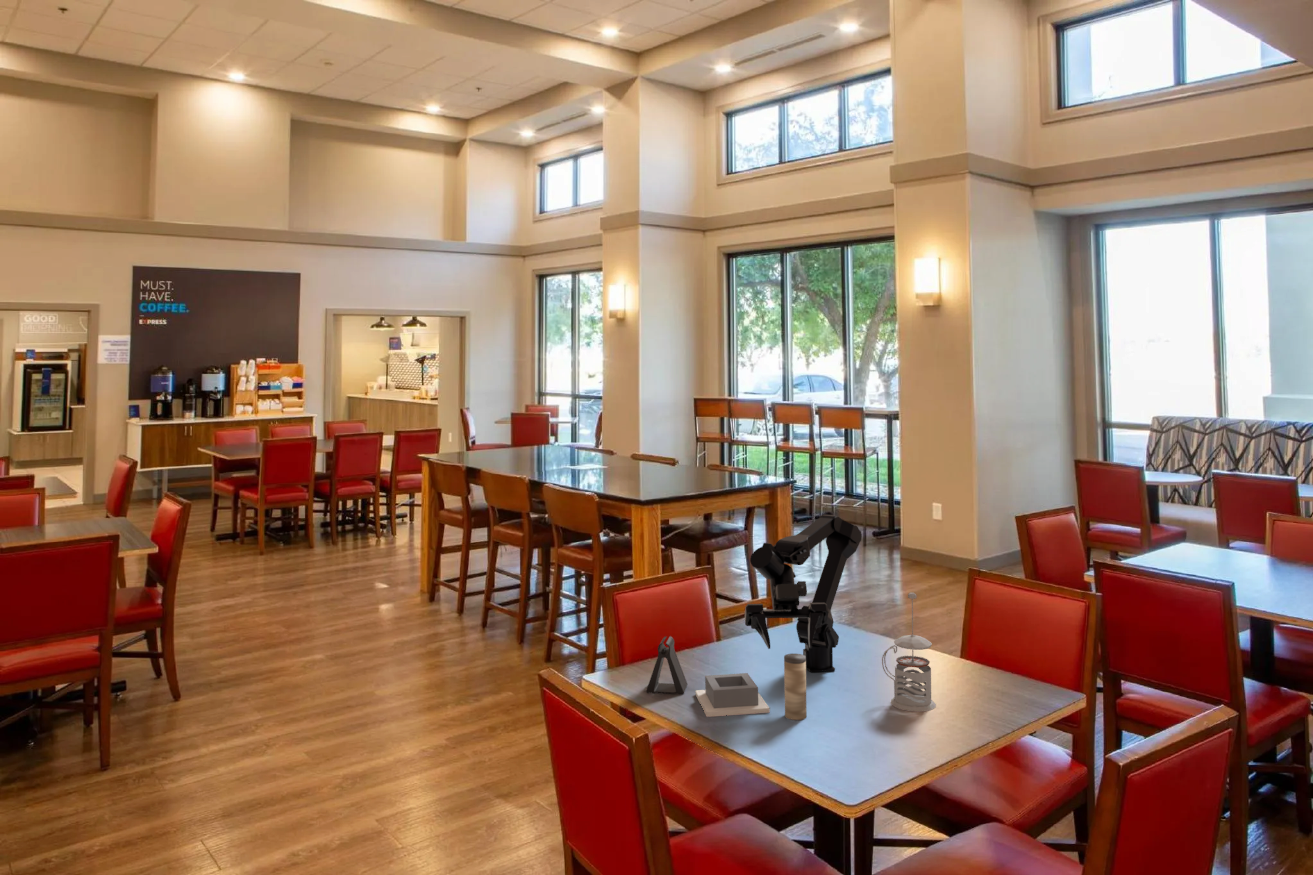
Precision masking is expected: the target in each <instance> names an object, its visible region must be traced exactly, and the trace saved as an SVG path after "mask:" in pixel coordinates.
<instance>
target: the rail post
mask: <svg viewBox="0 0 1313 875" xmlns="http://www.w3.org/2000/svg"><path fill="white" fill-rule="evenodd" d="M783 659H784V660H783V665H784V666H783V667H784V669H783V671H784V672H783V674H784V717H785V718H786V719H788V720H792V721H802V720H805V719H807V716H808V715H807V711H808V710H807V668H806V656H804V655H803V654H802V653H788V654H785V655H784V656H783Z"/></svg>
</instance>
